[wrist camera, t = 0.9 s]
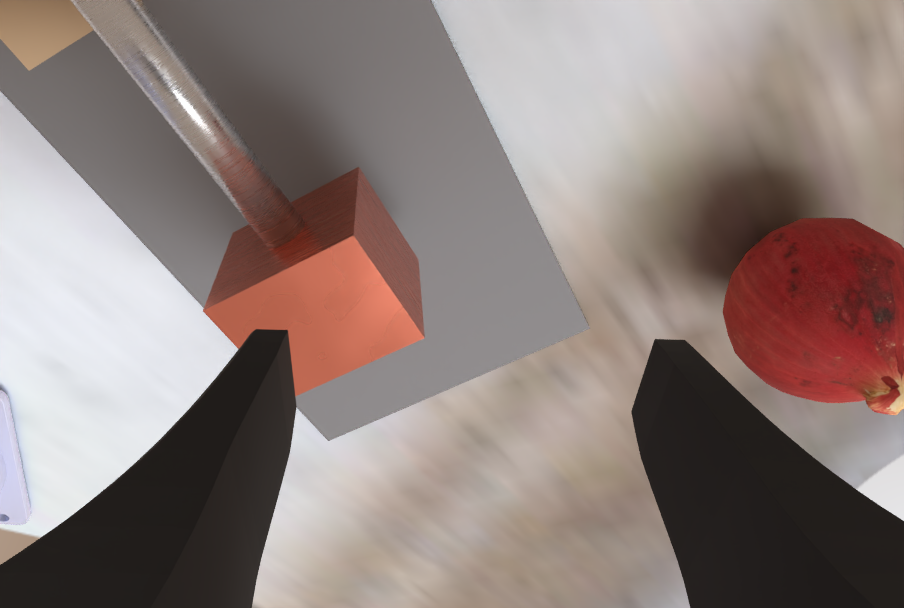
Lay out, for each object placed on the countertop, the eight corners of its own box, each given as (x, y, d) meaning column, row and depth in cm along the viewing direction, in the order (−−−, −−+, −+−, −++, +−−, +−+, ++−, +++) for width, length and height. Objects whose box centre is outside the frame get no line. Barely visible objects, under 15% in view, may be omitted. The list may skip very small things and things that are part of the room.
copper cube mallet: (-187, -275, 13) (-383, -313, 9) (-16, -417, 12) (-169, -514, 9) (301, 315, 22) (286, 400, 18) (418, 259, 21) (424, 337, 18)
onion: (709, 182, 23) (840, 322, 16) (869, 175, 23) (1059, 309, 16) (677, 317, 26) (774, 478, 19) (817, 309, 26) (958, 464, 20)
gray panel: (-166, -94, 16) (-171, -93, 16) (237, -399, 14) (235, -402, 14) (328, 437, 28) (328, 440, 28) (588, 325, 26) (590, 328, 26)
